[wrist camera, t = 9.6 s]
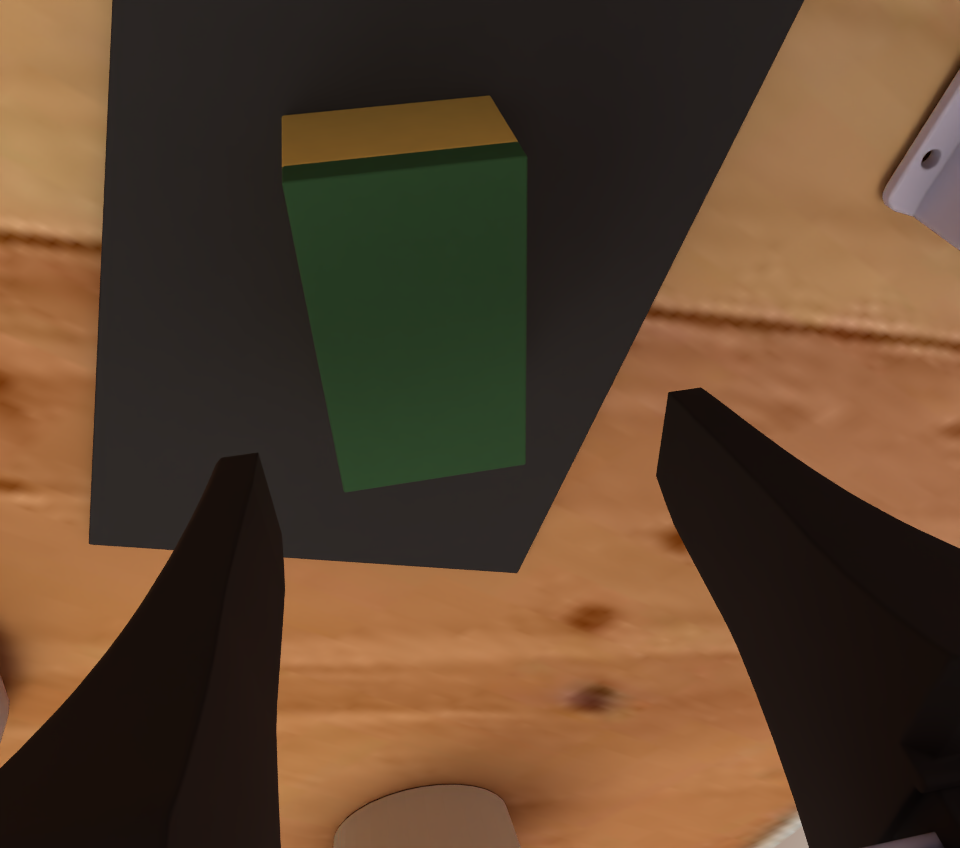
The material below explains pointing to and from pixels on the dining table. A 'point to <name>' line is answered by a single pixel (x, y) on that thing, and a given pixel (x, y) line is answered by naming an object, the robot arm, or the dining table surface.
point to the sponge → (414, 284)
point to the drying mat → (273, 262)
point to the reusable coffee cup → (431, 820)
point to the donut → (3, 707)
